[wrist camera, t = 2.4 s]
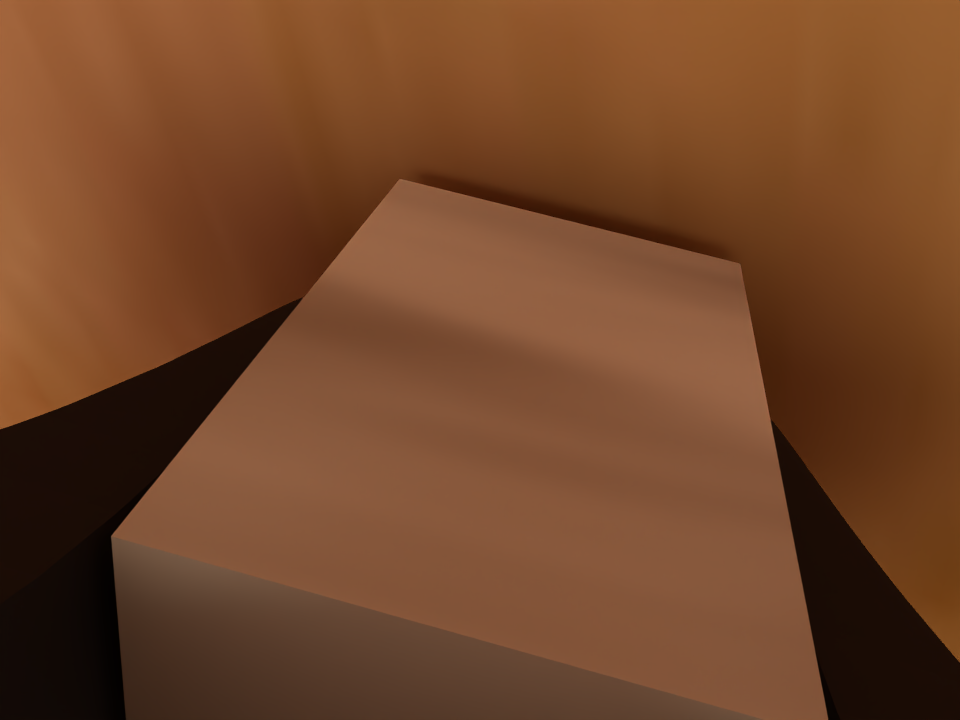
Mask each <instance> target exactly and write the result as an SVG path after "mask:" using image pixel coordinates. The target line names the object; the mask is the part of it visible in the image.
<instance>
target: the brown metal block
mask: <svg viewBox="0 0 960 720" xmlns="http://www.w3.org/2000/svg"><path fill="white" fill-rule="evenodd" d="M111 540H112V553H113V565H114V578H115V590H116V602H117V615H118V627H119V639H120V652H121V664H122V677H123V689H124V701H125V714H126V720H828V715H827V710H826V705H825V700H824V695H823V690H822V684H821V679H820V674H819V669H818V664H817V658H816V653H815V648H814V643H813V638H812V633H811V627H810V622H809V617H808V612H807V607H806V602H805V596H804V591H803V586H802V581H801V576H800V570H799V565H798V560H797V555H796V550H795V545H794V539H793V534H792V529H791V524H790V519H789V513H788V508H787V503H786V498H785V493H784V488H783V482H782V477H781V472H780V467H779V462H778V457H777V451H776V446H775V441H774V436H773V431H772V425H771V420H770V415H769V410H768V405H767V400H766V394H765V389H764V384H763V379H762V374H761V369H760V363H759V358H758V353H757V348H756V343H755V337H754V332H753V327H752V322H751V317H750V312H749V306H748V301H747V296H746V291H745V286H744V281H743V275H742V270H741V265H740V263H736V262H732V261H728V260H724V259H720V258H716V257H712V256H708V255H704V254H700V253H696V252H692V251H688V250H684V249H680V248H676V247H672V246H668V245H664V244H660V243H656V242H652V241H648V240H644V239H640V238H636V237H632V236H628V235H624V234H620V233H616V232H612V231H608V230H604V229H600V228H596V227H592V226H588V225H584V224H580V223H576V222H572V221H568V220H564V219H560V218H556V217H552V216H548V215H544V214H540V213H536V212H532V211H527V210H523V209H519V208H515V207H511V206H507V205H503V204H499V203H495V202H491V201H487V200H483V199H479V198H475V197H471V196H467V195H463V194H459V193H455V192H451V191H447V190H443V189H439V188H435V187H431V186H427V185H423V184H419V183H415V182H411V181H407V180H403V179H399V180H398V181H397V183H396V184H395V185H394V186H393V188H392V189H391V190H390V191H389V193H388V194H387V195H386V196H385V198H384V199H383V200H382V201H381V202H380V204H379V205H378V206H377V207H376V209H375V210H374V211H373V212H372V214H371V215H370V216H369V217H368V219H367V220H366V221H365V222H364V224H363V225H362V226H361V227H360V228H359V230H358V231H357V232H356V233H355V235H354V236H353V237H352V238H351V240H350V241H349V242H348V243H347V245H346V246H345V247H344V248H343V250H342V251H341V252H340V253H339V255H338V256H337V257H336V258H335V259H334V261H333V262H332V263H331V264H330V266H329V267H328V268H327V269H326V271H325V272H324V273H323V274H322V276H321V277H320V278H319V279H318V281H317V282H316V283H315V284H314V285H313V287H312V288H311V289H310V290H309V292H308V293H307V294H306V295H305V297H304V298H303V299H302V300H301V302H300V303H299V304H298V305H297V307H296V308H295V309H294V310H293V312H292V313H291V314H290V315H289V316H288V318H287V319H286V320H285V321H284V323H283V324H282V325H281V326H280V328H279V329H278V330H277V331H276V333H275V334H274V335H273V336H272V338H271V339H270V340H269V341H268V342H267V344H266V345H265V346H264V347H263V349H262V350H261V351H260V352H259V354H258V355H257V356H256V357H255V359H254V360H253V361H252V362H251V364H250V365H249V366H248V367H247V369H246V370H245V371H244V372H243V373H242V375H241V376H240V377H239V378H238V380H237V381H236V382H235V383H234V385H233V386H232V387H231V388H230V390H229V391H228V392H227V393H226V395H225V396H224V397H223V398H222V399H221V401H220V402H219V403H218V404H217V406H216V407H215V408H214V409H213V411H212V412H211V413H210V414H209V416H208V417H207V418H206V419H205V421H204V422H203V423H202V424H201V426H200V427H199V428H198V429H197V430H196V432H195V433H194V434H193V435H192V437H191V438H190V439H189V440H188V442H187V443H186V444H185V445H184V447H183V448H182V449H181V450H180V452H179V453H178V454H177V455H176V456H175V458H174V459H173V460H172V461H171V463H170V464H169V465H168V466H167V468H166V469H165V470H164V471H163V473H162V474H161V475H160V476H159V478H158V479H157V480H156V481H155V483H154V484H153V485H152V486H151V487H150V489H149V490H148V491H147V492H146V494H145V495H144V496H143V497H142V499H141V500H140V501H139V502H138V504H137V505H136V506H135V507H134V509H133V510H132V511H131V512H130V513H129V515H128V516H127V517H126V518H125V520H124V521H123V522H122V523H121V525H120V526H119V527H118V528H117V530H116V531H115V532H114V533H113V535H112V536H111Z"/></svg>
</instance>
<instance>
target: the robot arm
mask: <svg viewBox="0 0 960 720" xmlns="http://www.w3.org/2000/svg"><path fill="white" fill-rule="evenodd" d="M302 299H303V298H300V299H298V300H296V301H293V302H291V303H289V304H287V305H284V306H282V307H280V308H278V309H276V310H274V311H272V312H270V313H268V314H266V315H264V316H262V317H260V318H258V319H256V320H254V321H252V322H250V323H248V324H246V325H244V326H242V327H240V328H238V329H236V330H234V331H232V332H230V333H228V334H226V335H224V336H222V337H220V338H218V339H216V340H214V341H212V342H209V343H207V344H205V345H203V346H201V347H199V348H197V349H195V350H193V351H191V352H189V353H187V354H185V355H182V356H180V357H178V358H176V359H174V360H172V361H170V362H168V363H166V364H164V365H161V366H159V367H157V368H155V369H152V370H150V371H147V372H145V373H143V374H140V375H138V376H136V377H133V378H131V379H129V380H126V381H124V382H121V383H119V384H117V385H114V386H112V387H110V388H107V389H105V390H103V391H100V392H98V393H95V394H93V395H91V396H88V397H86V398H84V399H81V400H79V401H77V402H74V403H72V404H69V405H67V406H64V407H62V408H59V409H56V410H54V411H51V412H48V413H46V414H43V415H40V416H38V417H35V418H32V419H29V420H26V421H24V422H21V423H18V424H15V425H12V426H9V427H6V428H3V429H0V720H126V714H125V701H124V689H123V677H122V664H121V652H120V639H119V627H118V615H117V602H116V590H115V578H114V565H113V553H112V540H111V536H112V535H113V533H114V532H115V531H116V530H117V528H118V527H119V526H120V525H121V523H122V522H123V521H124V520H125V518H126V517H127V516H128V515H129V513H130V512H131V511H132V510H133V509H134V507H135V506H136V505H137V504H138V502H139V501H140V500H141V499H142V497H143V496H144V495H145V494H146V492H147V491H148V490H149V489H150V487H151V486H152V485H153V484H154V483H155V481H156V480H157V479H158V478H159V476H160V475H161V474H162V473H163V471H164V470H165V469H166V468H167V466H168V465H169V464H170V463H171V461H172V460H173V459H174V458H175V456H176V455H177V454H178V453H179V452H180V450H181V449H182V448H183V447H184V445H185V444H186V443H187V442H188V440H189V439H190V438H191V437H192V435H193V434H194V433H195V432H196V430H197V429H198V428H199V427H200V426H201V424H202V423H203V422H204V421H205V419H206V418H207V417H208V416H209V414H210V413H211V412H212V411H213V409H214V408H215V407H216V406H217V404H218V403H219V402H220V401H221V399H222V398H223V397H224V396H225V395H226V393H227V392H228V391H229V390H230V388H231V387H232V386H233V385H234V383H235V382H236V381H237V380H238V378H239V377H240V376H241V375H242V373H243V372H244V371H245V370H246V369H247V367H248V366H249V365H250V364H251V362H252V361H253V360H254V359H255V357H256V356H257V355H258V354H259V352H260V351H261V350H262V349H263V347H264V346H265V345H266V344H267V342H268V341H269V340H270V339H271V338H272V336H273V335H274V334H275V333H276V331H277V330H278V329H279V328H280V326H281V325H282V324H283V323H284V321H285V320H286V319H287V318H288V316H289V315H290V314H291V313H292V312H293V310H294V309H295V308H296V307H297V305H298V304H299V303H300V302H301V300H302ZM770 420H771V419H770ZM771 425H772V431H773V436H774V441H775V446H776V451H777V457H778V462H779V467H780V472H781V477H782V482H783V488H784V493H785V498H786V503H787V508H788V513H789V519H790V524H791V529H792V534H793V539H794V545H795V550H796V555H797V560H798V565H799V570H800V576H801V581H802V586H803V591H804V596H805V602H806V607H807V612H808V617H809V622H810V627H811V633H812V638H813V643H814V648H815V653H816V658H817V664H818V669H819V674H820V679H821V684H822V690H823V695H824V700H825V705H826V710H827V715H828V720H960V662H959V661H958V660H957V659H956V658H955V657H954V656H953V655H952V653H951V652H950V651H949V650H948V649H947V647H946V646H945V645H944V644H943V643H942V641H941V640H940V639H939V638H938V637H937V636H936V634H935V633H934V632H933V631H932V630H931V628H930V627H929V626H928V625H927V624H926V622H925V621H924V620H923V619H922V618H921V617H920V615H919V614H918V613H917V612H916V611H915V609H914V608H913V607H912V606H911V605H910V603H909V602H908V601H907V600H906V599H905V597H904V596H903V595H902V594H901V592H900V591H899V590H898V589H897V587H896V586H895V585H894V584H893V582H892V581H891V580H890V579H889V577H888V576H887V575H886V574H885V572H884V571H883V570H882V568H881V567H880V566H879V565H878V563H877V562H876V561H875V559H874V558H873V557H872V555H871V554H870V553H869V552H868V550H867V549H866V548H865V546H864V545H863V544H862V542H861V541H860V540H859V538H858V537H857V536H856V534H855V533H854V532H853V530H852V529H851V528H850V526H849V525H848V524H847V522H846V521H845V519H844V518H843V517H842V515H841V514H840V513H839V511H838V510H837V509H836V507H835V506H834V504H833V503H832V502H831V500H830V499H829V498H828V496H827V495H826V493H825V492H824V491H823V489H822V488H821V486H820V485H819V484H818V482H817V481H816V479H815V478H814V477H813V475H812V474H811V472H810V471H809V470H808V468H807V467H806V465H805V464H804V463H803V461H802V460H801V458H800V457H799V456H798V454H797V453H796V452H795V450H794V449H793V447H792V446H791V445H790V443H789V442H788V441H787V439H786V438H785V436H784V435H783V434H782V433H781V431H780V430H779V429H778V427H777V426H776V425H775V424H774V422H773V421H772V420H771Z"/></svg>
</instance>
